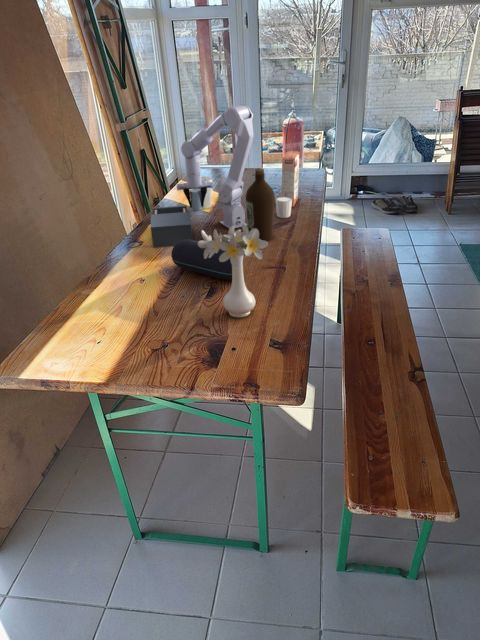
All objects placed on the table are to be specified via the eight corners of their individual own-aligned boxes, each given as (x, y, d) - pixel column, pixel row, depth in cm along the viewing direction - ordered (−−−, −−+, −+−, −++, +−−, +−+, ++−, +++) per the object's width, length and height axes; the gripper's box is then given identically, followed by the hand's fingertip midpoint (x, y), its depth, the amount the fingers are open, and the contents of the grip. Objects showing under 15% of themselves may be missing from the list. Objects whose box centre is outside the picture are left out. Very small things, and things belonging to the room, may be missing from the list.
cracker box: (294, 208, 218) (295, 158, 206) (280, 207, 219) (281, 157, 207) (298, 198, 229) (300, 151, 218) (286, 197, 230) (286, 150, 219)
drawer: (154, 220, 204) (152, 206, 201) (187, 218, 206) (186, 204, 203) (154, 233, 192) (152, 218, 189) (189, 230, 194) (188, 216, 191)
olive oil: (269, 230, 195) (269, 164, 181) (278, 240, 186) (278, 171, 173) (243, 234, 192) (241, 167, 178) (251, 243, 184) (249, 174, 170)
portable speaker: (249, 275, 161) (249, 246, 155) (233, 287, 154) (231, 257, 148) (188, 260, 172) (185, 233, 166) (170, 271, 165) (166, 242, 159)
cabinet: (153, 233, 194) (150, 214, 190) (190, 230, 196) (189, 211, 192) (153, 247, 182) (150, 227, 178) (193, 244, 184) (191, 224, 180)
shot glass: (292, 213, 212) (292, 196, 208) (291, 218, 207) (291, 201, 203) (276, 212, 213) (276, 196, 209) (274, 218, 207) (274, 201, 203)
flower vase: (211, 300, 147) (204, 217, 133) (272, 304, 144) (272, 220, 131) (199, 322, 137) (190, 235, 123) (265, 327, 134) (263, 238, 120)
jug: (191, 207, 209) (189, 188, 205) (201, 207, 210) (199, 188, 206) (191, 212, 204) (190, 192, 200) (202, 211, 205) (201, 192, 201)
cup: (213, 209, 218) (211, 181, 211) (192, 209, 218) (189, 182, 211) (215, 203, 225) (213, 176, 219) (195, 203, 225) (192, 176, 219)
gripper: (210, 169, 203) (213, 202, 210) (175, 171, 201) (178, 204, 208) (212, 173, 197) (214, 207, 205) (175, 175, 195) (179, 209, 203)
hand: (196, 206), depth 206 cm, fingers closed on jug, 4 cm apart
